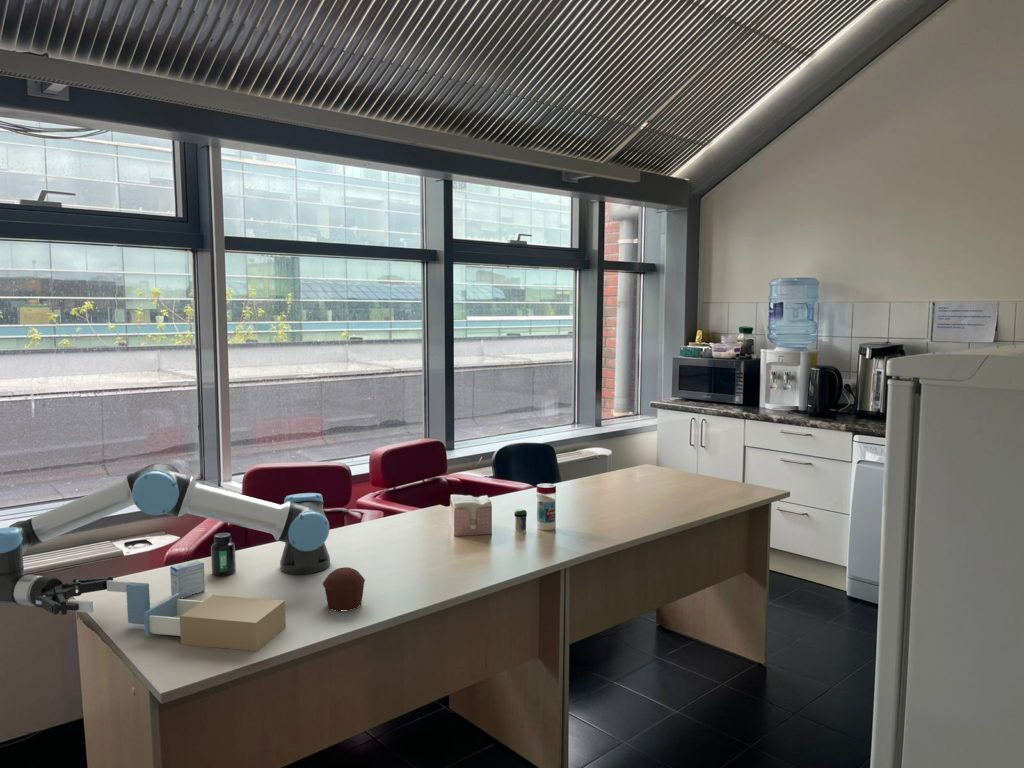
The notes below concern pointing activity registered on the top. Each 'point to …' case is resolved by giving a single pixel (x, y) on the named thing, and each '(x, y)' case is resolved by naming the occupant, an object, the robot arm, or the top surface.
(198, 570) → the medicine box
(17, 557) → the robot arm
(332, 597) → the muffin
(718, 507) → the top surface
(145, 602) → the blue-handled drawer
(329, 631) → the top surface
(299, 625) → the top surface
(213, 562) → the supplement bottle
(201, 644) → the drawer cabinet
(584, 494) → the top surface
